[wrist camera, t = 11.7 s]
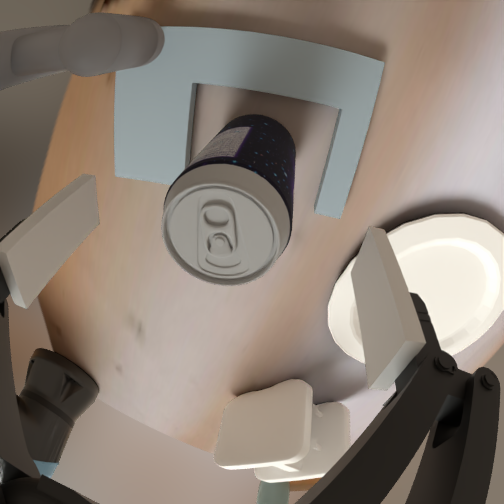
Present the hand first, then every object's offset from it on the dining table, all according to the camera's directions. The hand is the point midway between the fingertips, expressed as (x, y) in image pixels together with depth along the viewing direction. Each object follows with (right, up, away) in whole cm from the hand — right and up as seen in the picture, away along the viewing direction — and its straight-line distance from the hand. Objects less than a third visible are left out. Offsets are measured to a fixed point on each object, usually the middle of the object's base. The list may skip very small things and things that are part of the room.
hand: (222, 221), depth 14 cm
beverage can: (+2, +6, +8) cm, 10 cm away
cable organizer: (+7, -22, +28) cm, 36 cm away
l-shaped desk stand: (0, +8, +7) cm, 11 cm away
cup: (+8, -59, +54) cm, 80 cm away
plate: (+19, -6, +14) cm, 24 cm away
